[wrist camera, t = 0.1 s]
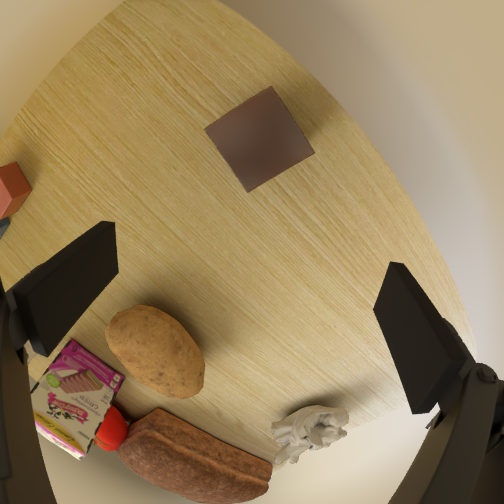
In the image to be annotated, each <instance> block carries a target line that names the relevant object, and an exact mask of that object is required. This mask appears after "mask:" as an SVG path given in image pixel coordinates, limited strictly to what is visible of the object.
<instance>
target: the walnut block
mask: <svg viewBox="0 0 504 504" xmlns="http://www.w3.org/2000/svg"><path fill="white" fill-rule="evenodd" d="M204 130H205V132H206V133H207V134H208V136H209V137H210V139H211V140H212V142H213V143H214V145H215V146H216V147H217V149H218V150H219V152H220V153H221V155H222V156H223V158H224V159H225V161H226V162H227V163H228V165H229V166H230V168H231V169H232V171H233V172H234V174H235V175H236V177H237V178H238V180H239V181H240V183H241V184H242V186H243V187H244V189H245V190H246V192H247V193H249V192H250V191H252V190H253V189H255V188H257V187H258V186H260V185H262V184H263V183H265V182H267V181H268V180H270V179H272V178H273V177H275V176H277V175H278V174H280V173H282V172H283V171H285V170H287V169H288V168H290V167H292V166H294V165H295V164H297V163H299V162H300V161H302V160H304V159H306V158H307V157H309V156H311V155H313V154H314V153H315V152H314V150H313V149H312V147H311V145H310V144H309V142H308V140H307V139H306V137H305V136H304V134H303V132H302V131H301V129H300V128H299V126H298V125H297V123H296V121H295V120H294V118H293V117H292V115H291V114H290V112H289V111H288V109H287V108H286V106H285V105H284V103H283V102H282V100H281V99H280V97H279V96H278V94H277V93H276V91H275V90H274V89H273V87H272V86H270V87H268V88H267V89H265V90H263V91H262V92H260V93H258V94H257V95H255V96H253V97H252V98H250V99H249V100H247V101H245V102H244V103H242V104H241V105H239V106H237V107H236V108H234V109H233V110H231V111H230V112H228V113H227V114H225V115H224V116H222V117H221V118H219V119H218V120H216V121H215V122H213V123H212V124H210V125H209V126H207V127H206V128H205V129H204Z"/></svg>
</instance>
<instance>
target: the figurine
mask: <svg viewBox="0 0 504 504" xmlns="http://www.w3.org/2000/svg"><path fill="white" fill-rule="evenodd" d="M348 422H349V415H348V412H347V410H346V409H345V408H341V407H339V408H336V407H334V408H330V407H324V406H321V405H313V406H308V407H304V408H301V409H299V410H298V411H296V412H294V413H293V414H291V415H289V416H287V417H286V418H284V419H282V420H281V421H278V422H272V426H271V431H272V434H273V433H274V434H275V435H276V437H275V442H278V441H280V443H282V446H283V447H282V448H281V449H280V450H279V451H278V453H277V454H276V456H275V459H274V460H275V462H276V463H277V464H280V463H282V462H283V461H284V460H285V458H287V457H288V456H289V460H290V463H291V464H293V463H297V462H298V459H299V455H300V454H301V453H303V452H304V451H305V450H307V449H309V450H318V449H321V448H323V447H325V448H326V447H329V445H330V444H331V443H333V442H335V441H337V440H339V439H340V438H342V437H345V436H346V435H347V432H346V431H345V430H342V429H341V427H342V426H344V425H346V424H347V423H348Z"/></svg>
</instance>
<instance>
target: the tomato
mask: <svg viewBox="0 0 504 504" xmlns="http://www.w3.org/2000/svg"><path fill="white" fill-rule="evenodd" d="M127 435H128V426H127V423H126V422H125V420H124V418H123V416H122V414H121V413H120V412H119V411H118V410H117V409H116V408H115V407H114V406H113V405H111V406H110V408H109V410H108V412H107V414H106V416H105V418H104V420H103V422H102V424H101V426H100V428H99V430H98V432H97V434H96V436H95V438H94V440H93V442H92V444H94V445H95V444H98V445H99V446H100V447H101V448H103V449H104V450H107V451H113V450H117V449H118V448H119V445H120V444H121V443H122V442H123V441H124V440H125V439H126V437H127Z"/></svg>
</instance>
